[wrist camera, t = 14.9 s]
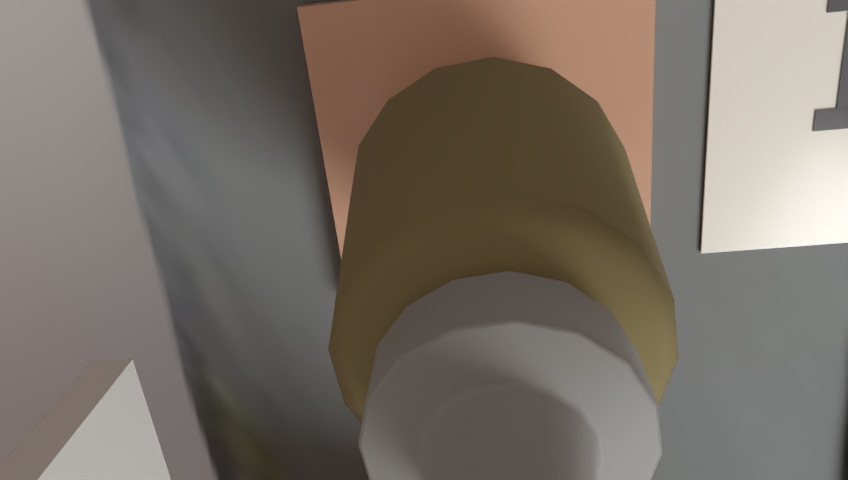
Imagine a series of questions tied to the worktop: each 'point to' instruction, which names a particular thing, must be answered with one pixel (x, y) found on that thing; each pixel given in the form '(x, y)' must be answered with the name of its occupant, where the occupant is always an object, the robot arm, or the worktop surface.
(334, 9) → the coaster pad
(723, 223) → the white flat square slab
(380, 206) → the squeeze bottle
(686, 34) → the worktop surface
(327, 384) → the worktop surface
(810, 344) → the worktop surface
